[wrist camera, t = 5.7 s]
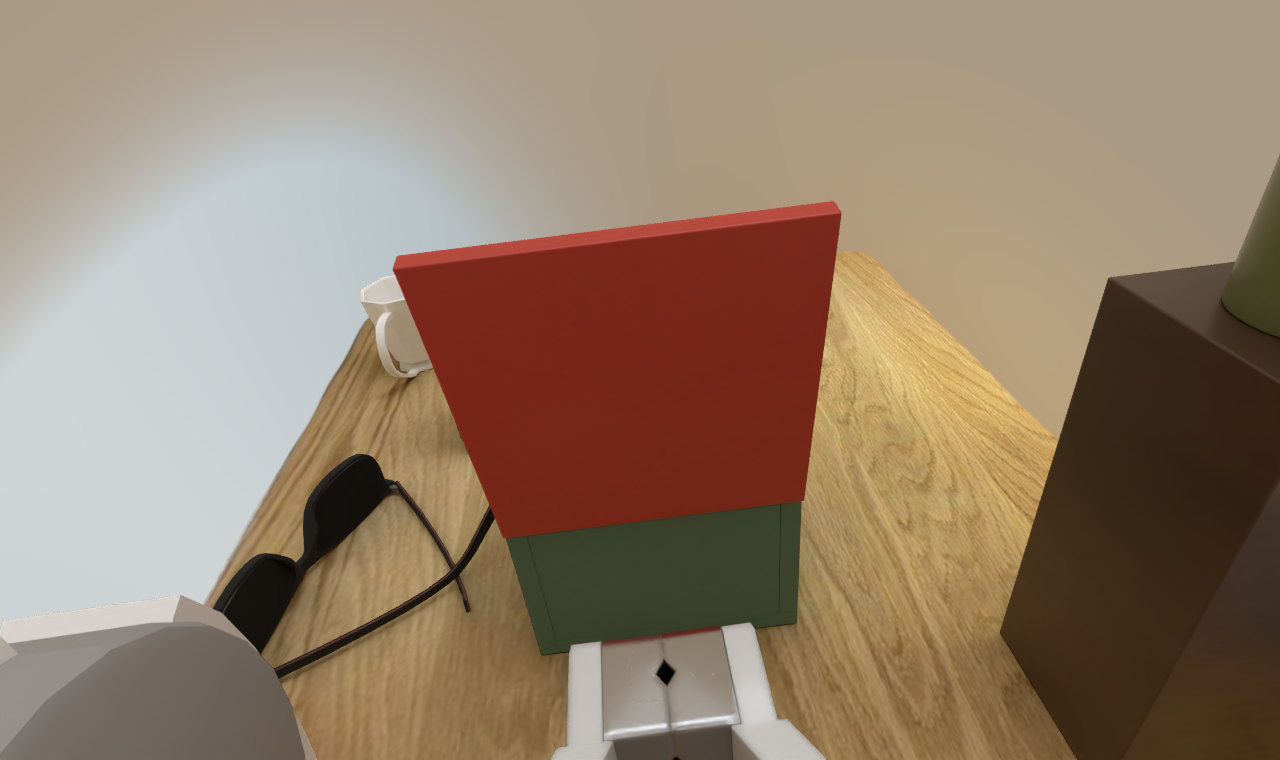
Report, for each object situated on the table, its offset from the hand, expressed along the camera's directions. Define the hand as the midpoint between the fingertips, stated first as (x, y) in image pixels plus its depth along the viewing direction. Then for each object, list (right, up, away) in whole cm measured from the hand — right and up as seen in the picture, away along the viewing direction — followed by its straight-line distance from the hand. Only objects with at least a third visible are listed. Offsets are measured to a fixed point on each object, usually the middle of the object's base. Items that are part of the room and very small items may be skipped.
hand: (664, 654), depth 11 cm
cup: (-22, +5, +53) cm, 57 cm away
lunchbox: (+1, -6, +31) cm, 31 cm away
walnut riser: (+22, -10, +20) cm, 32 cm away
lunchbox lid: (-1, +4, +15) cm, 16 cm away
